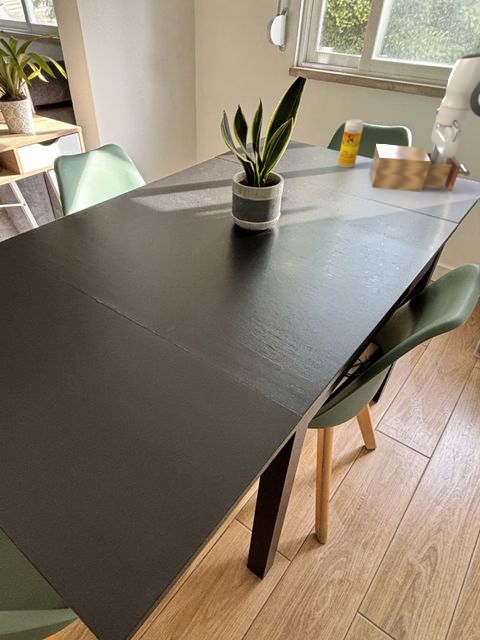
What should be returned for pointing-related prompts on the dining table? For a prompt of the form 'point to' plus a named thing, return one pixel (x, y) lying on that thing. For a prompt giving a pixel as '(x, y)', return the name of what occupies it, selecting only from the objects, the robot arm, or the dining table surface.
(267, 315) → the dining table surface
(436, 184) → the drawer
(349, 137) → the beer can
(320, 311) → the dining table surface
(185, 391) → the dining table surface
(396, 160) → the cabinet
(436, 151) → the grey cylindrical tube
